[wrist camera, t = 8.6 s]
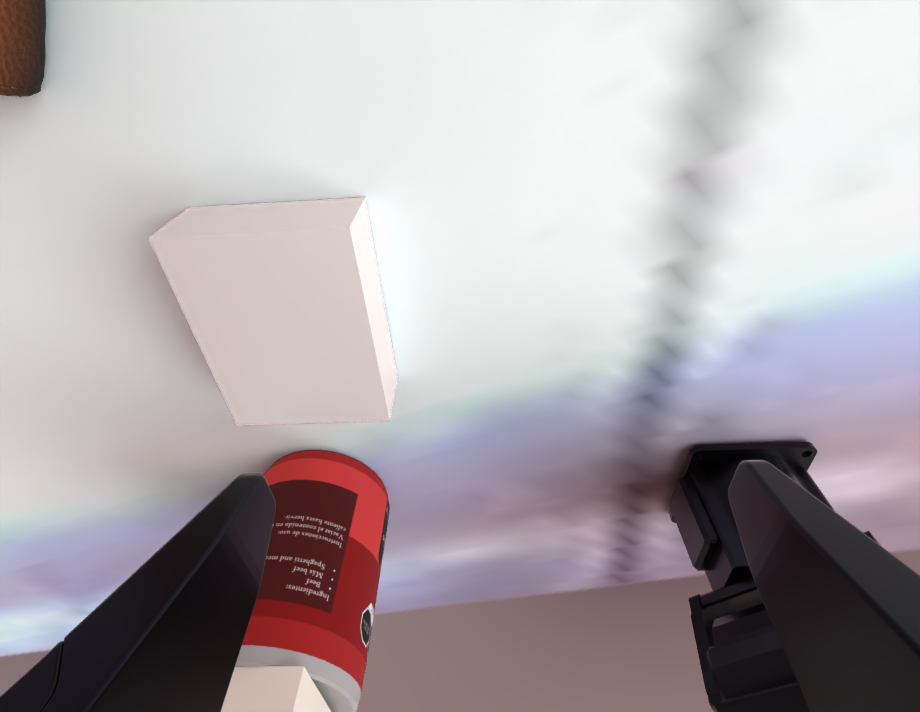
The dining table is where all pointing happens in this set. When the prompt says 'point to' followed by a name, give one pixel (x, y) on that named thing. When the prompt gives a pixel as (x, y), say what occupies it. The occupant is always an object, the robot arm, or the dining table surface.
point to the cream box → (273, 690)
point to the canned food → (320, 573)
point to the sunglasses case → (22, 46)
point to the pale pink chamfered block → (285, 308)
